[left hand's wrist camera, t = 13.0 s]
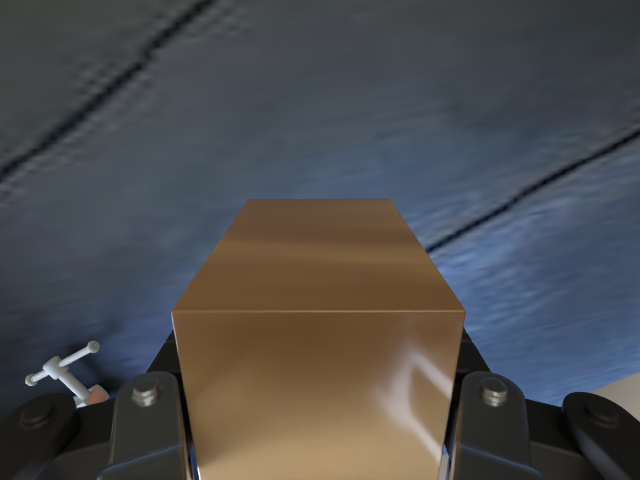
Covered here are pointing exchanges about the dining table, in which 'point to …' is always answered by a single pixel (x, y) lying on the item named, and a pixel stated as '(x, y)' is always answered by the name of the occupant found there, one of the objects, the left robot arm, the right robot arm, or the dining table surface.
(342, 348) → the bar
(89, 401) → the clamp
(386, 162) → the dining table surface
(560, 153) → the dining table surface
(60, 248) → the dining table surface
